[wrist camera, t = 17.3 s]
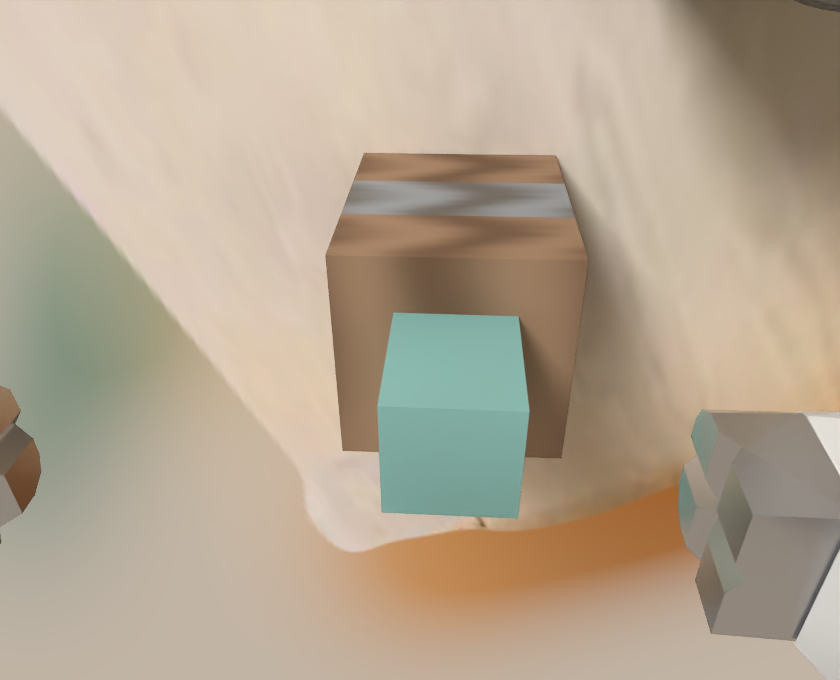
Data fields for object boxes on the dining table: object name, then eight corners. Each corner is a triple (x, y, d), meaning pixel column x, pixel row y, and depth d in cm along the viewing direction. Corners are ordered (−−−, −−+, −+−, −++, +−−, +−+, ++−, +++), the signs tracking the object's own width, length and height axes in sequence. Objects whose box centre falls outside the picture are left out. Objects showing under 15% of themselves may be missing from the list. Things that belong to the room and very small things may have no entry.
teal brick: (518, 316, 28) (529, 411, 23) (509, 414, 31) (517, 518, 26) (393, 312, 28) (377, 406, 23) (395, 409, 31) (381, 512, 26)
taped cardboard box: (555, 155, 37) (588, 260, 27) (539, 320, 42) (561, 458, 32) (364, 153, 37) (325, 255, 27) (372, 315, 43) (342, 450, 33)
